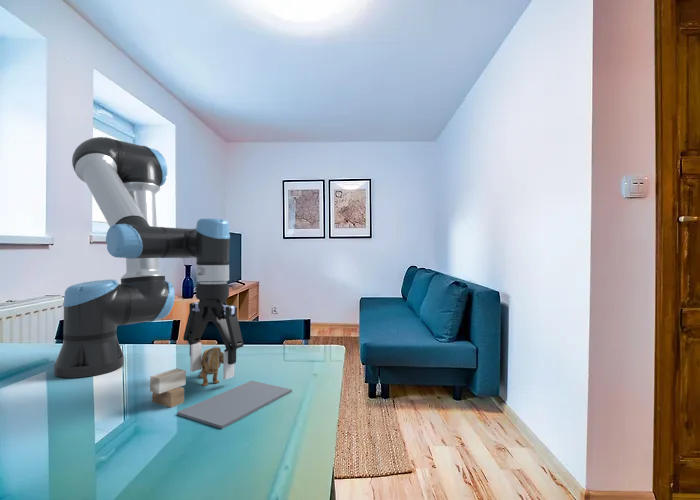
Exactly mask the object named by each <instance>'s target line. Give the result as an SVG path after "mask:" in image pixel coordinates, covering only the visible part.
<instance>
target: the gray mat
mask: <svg viewBox="0 0 700 500" xmlns="http://www.w3.org/2000/svg"><path fill="white" fill-rule="evenodd" d="M292 391H293V389H291V388H288V387H282V386H278V385H273V384H270V383H265V382H261V381H255V380H249V381H247V382H244V383H242V384H240V385H237V386H235V387H233V388H230V389H228V390H225V391H223V392H221V393H219V394H217V395H214V396H211V397H209V398H207V399H205V400H202V401H199V402H197V403H196V404H193V405H190V406H188V407H186V408H183V409H181V410H178V411H177V413H176V414H177V415H178V416H180V417H184V418H187V419H190V420H194V421H196V422H200V423H202V424H205V425H208V426H212V427H215V428H218V429H221V430H222V429H225V428H226V427H228V426H230V425H232V424H234V423H235V422H238V421H239V420H242V419H243V418H245V417H247V416H249V415H251V414H252V413H254V412H256V411H258V410H260V409H263V408H264V407H266V406H268V405H269V404H271V403H273V402H275V401H276V400H279V399H280V398H283V397H284V396H286V395H289V394H290V393H293V392H292Z"/></svg>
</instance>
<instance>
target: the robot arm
mask: <svg viewBox="0 0 700 500" xmlns="http://www.w3.org/2000/svg"><path fill="white" fill-rule="evenodd" d="M71 165H72V168H73V170H74V171H73V172H75V174H76V176H77V178H79V180H80V181H82V182H83V183H85V184H86V185H87V187H88V189H89V191H90V193H91V195H92V196H93V198H94V200H95V202H96V204H97V206H98V207H99V210H100V211H101V213H102V215H103V216H104V219H105V220H106V222H107V224H108V226H109V228H108V230H107V232H106V236H105V243H106V250H107V251H108V253H109V255H111V256H112V257H114V258H120V259H121V258H123V259H125V267H126V269H125V270H126V271H125V273H124V274H123V275H122V277H121V278H120V284H119V283H118V281H117V280H116V279H103V280H99V279H98V280H92V281H85V282H80V283H75V284H73V285H70V286H68V287H66V289H65V291H64V297H63V303H62V307H63V342H62V346H61V348H60V351H59V353H58V356H57V357H56V358H57V359H56V361H55V363H54V366H53V369H54V370H53V375H54V374H55V375H56V376H55V375H54V376H55V377H57V376H59V377H58V378H63V377H65V379H66V378H67V379H68V378H70V379H71V378H73V379H74V378H85V377H92V376H97V375H98V376H99V375H102V374H107V373H110V372H113V371H116V370H118V369H121V368H122V367H124V363H125V362H124V361H125V357H124V352H123V351H122V347H121V346H120V343H119V340H118V335H117V331H118V329H117V328H118V326H125V325H133V324H139V323H146V322H148V323H149V322H151V323H153V322H155V321H158V320H163V319H165V318H166V317H168V315H169V314H170V313H171V311H172V309H173V307H174V303H175V298H176V297H175V296H176V294H175V289H174V287H173V284H172V283H171V282H169V281H168V280H166V275H165V274H164V273H163V272H162V271H161V270H160V261H159V260H160V259H195V260H196V262H195V263H196V264H195V265H196V272H195V273H196V277H195V278H196V279H195V280H196V282H198V283H197V284H196V285H195V299H196V300H199V301H197V302H190V303H189V307H188V308H189V311H188V312H189V313H188V316H187V319H186V320H187V321H186V325H185V328H184V332H183V333H184V334H183V337H182V339H183V341H184V342H185V341H186V342H187V344H189V357H190V359H189V360H190V366H189V367H190V368H189V371H190V372H192V373H193V372H196V371H200V370H202V363H201V362H202V355H203V350H202V349H203V346H202V345H203V344H202V340H201V338H202V336H203V334H204V332H205V331H206V328H207V325H208V323H209V322H210V323H213V324H214V326H216V327H217V329H218V333H219V334H220V338H221V339H222V342H223V344H224V346H225V349H224V350H223V354H224V364H223V365H222V366H223V374H222V375H223V380H228V379H230V378H233V377H235V365H236V363H237V349H240V348H243V347H244V344H245V343H244V341H243V336H242V332H241V328H240V322H239V318H238V307H237V305H228V303H227V299H228V298H229V297H230V284H229V283H228V281H230V248H231V247H230V239H231V235H230V234H231V233H230V224H229V223H230V222H229V221H227V220H226V219H223V218H221V219H220V218H199V219H198V220H197V221H196V226H195V228H183V227H182V228H181V227H166V226H165V227H164V226H157V225H158V224H157V208H156V194H157V193H158V192H159V191H160V190H161V187H162V186H163V185H164V184H165V183H166V180H167V176H168V165H167V162H166V159H165V156H163V154H162V153H161V152H160V151H159V150H157V149H154V148H151V147H148V146H147V145H141V144H140V145H139V144H136V143H131V142H127V141H123V140H120V139H119V140H118V139H114V138H111V137H106V136H105V137H104V136H98V137H92V138H88V139H86V140H84V141H83V142H82V143H80V144H78V146H76V148H75V150H74V151H73V154H72V158H71Z"/></svg>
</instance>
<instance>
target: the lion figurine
mask: <svg viewBox="0 0 700 500" xmlns="http://www.w3.org/2000/svg"><path fill="white" fill-rule="evenodd" d="M221 349H222V348H221V347H218V346H217V347H216V346H215V347H211V348H208V349H206V350H204V351H203V352H202V362H201V363H202V369H201V372H200V375H199V376H198V378H199V379H201V378H202V384H201V386H203V387H207V386H208V384H209V381H208V374H212V375H213V376H212V382H213V383H214V384H218V383H220V380H218V373H219V369H220V368H221V365H222V364H223V365H224V351H222V350H221Z"/></svg>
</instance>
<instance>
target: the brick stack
mask: <svg viewBox="0 0 700 500" xmlns="http://www.w3.org/2000/svg"><path fill="white" fill-rule="evenodd" d="M186 374H187V370H185V369H180V368H174V369H170V370H167V371H163V372H160V373H157V374H154V375H151V376H150V378H149V391H150V392H151V393H152V395H151V397H152V400H151V401H152V403H154V404H155V403H156V404H158V405H162V406H165V407H168V408H174V407H176V406H179V405H181V404H183V403H185V388H184V387H183V386H186V385H187V384H186V383H187V382H186V381H187V375H186Z"/></svg>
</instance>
